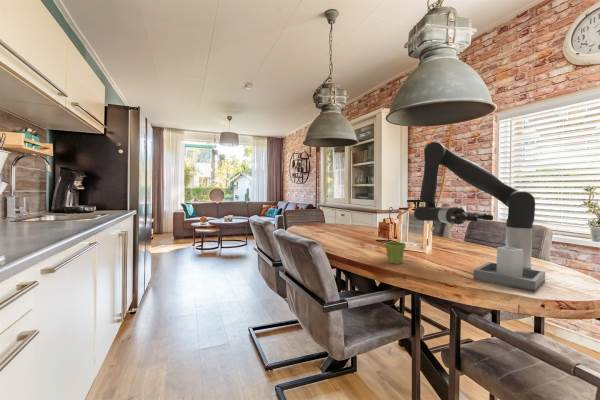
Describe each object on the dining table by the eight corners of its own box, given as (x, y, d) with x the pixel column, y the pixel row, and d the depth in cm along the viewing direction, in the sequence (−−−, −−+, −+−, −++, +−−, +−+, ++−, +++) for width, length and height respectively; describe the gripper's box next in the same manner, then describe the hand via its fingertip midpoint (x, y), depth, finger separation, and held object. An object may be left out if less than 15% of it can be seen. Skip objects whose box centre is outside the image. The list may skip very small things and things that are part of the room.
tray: (488, 270, 118) (488, 262, 118) (544, 281, 105) (545, 271, 105) (473, 278, 107) (473, 269, 106) (534, 292, 93) (535, 281, 93)
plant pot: (391, 265, 124) (392, 246, 124) (380, 260, 133) (380, 242, 133) (410, 264, 127) (410, 245, 126) (397, 259, 136) (397, 241, 136)
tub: (506, 275, 109) (507, 246, 109) (522, 279, 104) (523, 249, 104) (496, 276, 107) (497, 247, 107) (511, 280, 102) (512, 250, 102)
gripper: (439, 208, 128) (471, 209, 112) (463, 206, 132) (497, 208, 117) (439, 224, 128) (471, 228, 112) (463, 222, 132) (497, 226, 117)
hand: (484, 218), depth 115 cm, fingers open, 8 cm apart
